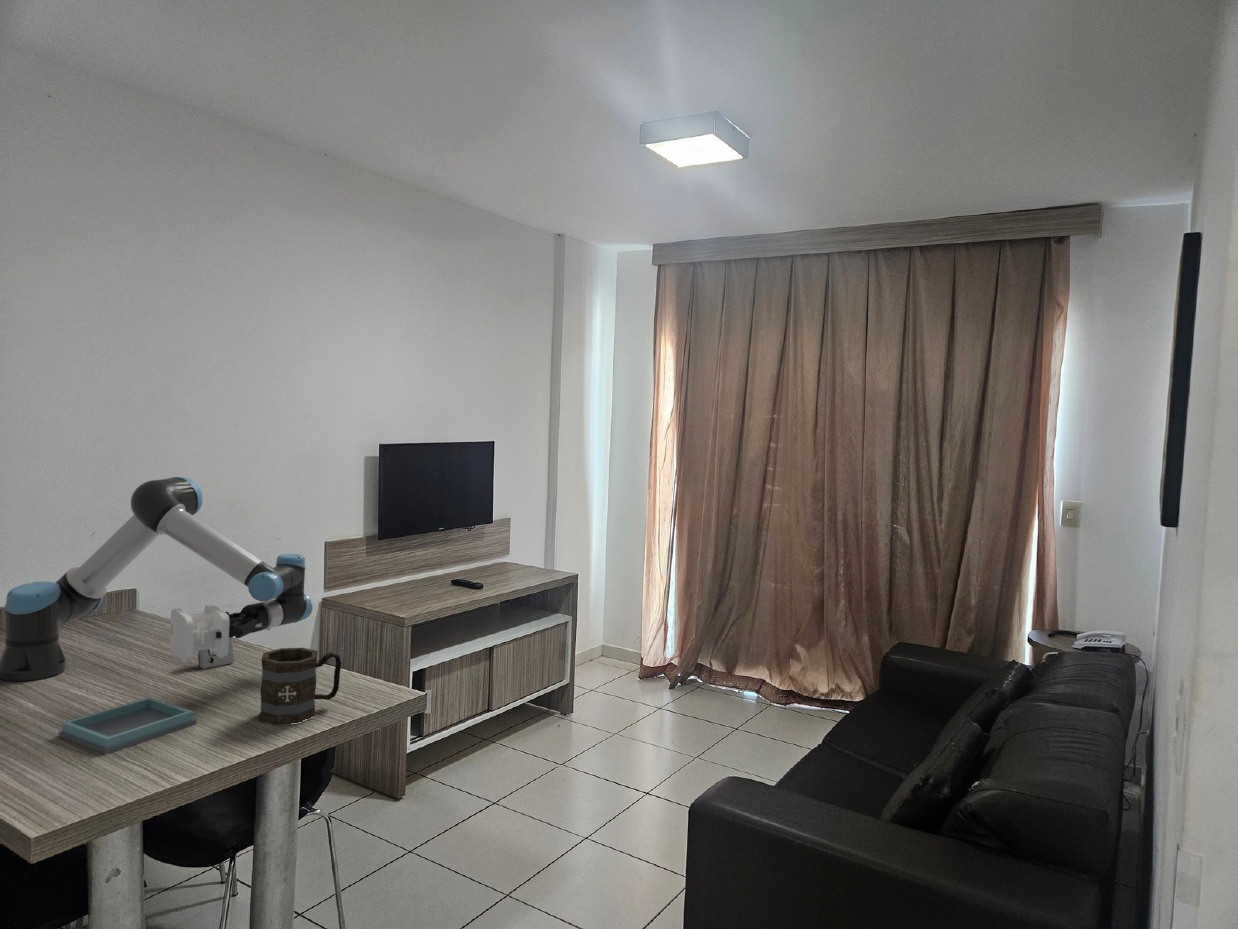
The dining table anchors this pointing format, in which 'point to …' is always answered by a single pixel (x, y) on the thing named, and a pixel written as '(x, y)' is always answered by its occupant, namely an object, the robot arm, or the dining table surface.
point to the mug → (292, 684)
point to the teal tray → (126, 725)
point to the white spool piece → (198, 632)
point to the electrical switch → (215, 657)
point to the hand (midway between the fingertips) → (186, 633)
